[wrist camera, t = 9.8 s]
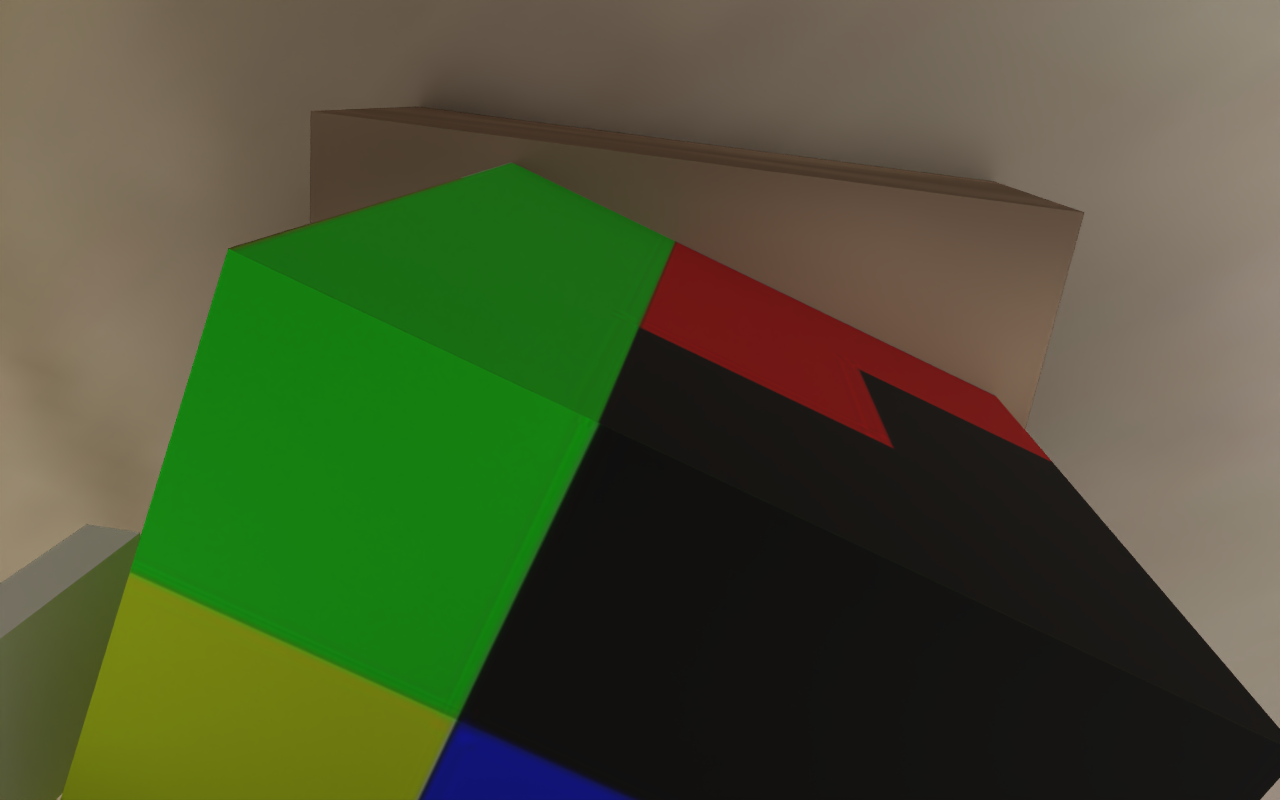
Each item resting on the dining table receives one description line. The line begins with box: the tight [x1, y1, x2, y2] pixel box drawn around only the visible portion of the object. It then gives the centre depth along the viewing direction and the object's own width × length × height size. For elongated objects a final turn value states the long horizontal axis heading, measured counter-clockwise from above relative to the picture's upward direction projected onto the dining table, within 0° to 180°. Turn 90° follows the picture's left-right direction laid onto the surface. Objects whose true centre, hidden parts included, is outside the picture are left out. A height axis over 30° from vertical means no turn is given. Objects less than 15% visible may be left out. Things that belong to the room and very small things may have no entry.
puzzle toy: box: [61, 162, 1280, 800], centre depth 14 cm, size 10×10×10 cm
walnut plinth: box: [310, 107, 1084, 429], centre depth 22 cm, size 14×14×6 cm
